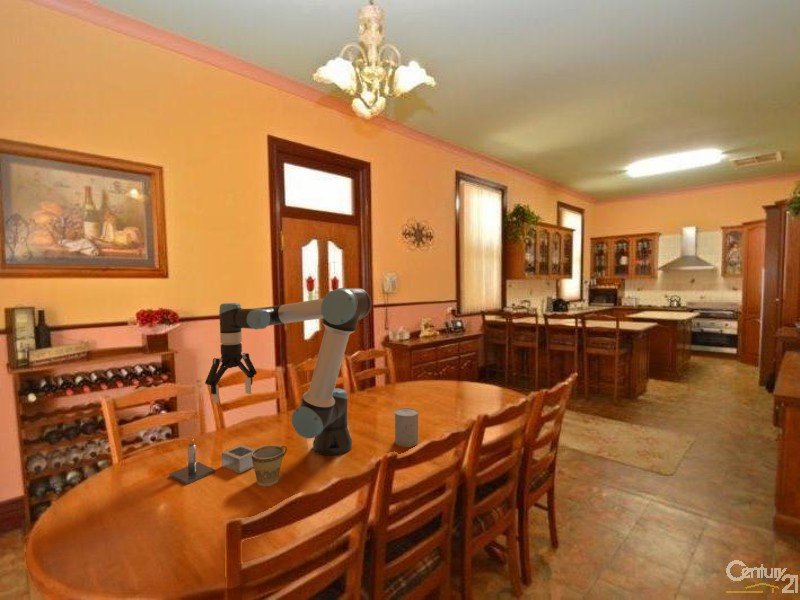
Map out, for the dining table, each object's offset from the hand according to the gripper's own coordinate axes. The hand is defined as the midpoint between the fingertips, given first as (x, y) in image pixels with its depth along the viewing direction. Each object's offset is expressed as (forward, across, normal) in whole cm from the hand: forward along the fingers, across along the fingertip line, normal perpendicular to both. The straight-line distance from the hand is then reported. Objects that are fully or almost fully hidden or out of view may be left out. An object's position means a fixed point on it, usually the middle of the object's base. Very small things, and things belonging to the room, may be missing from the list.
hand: (232, 397), depth 154 cm
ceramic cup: (+20, +7, +32) cm, 38 cm away
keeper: (+20, +20, +7) cm, 29 cm away
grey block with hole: (+20, +7, +15) cm, 26 cm away
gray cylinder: (+21, -44, +52) cm, 71 cm away
